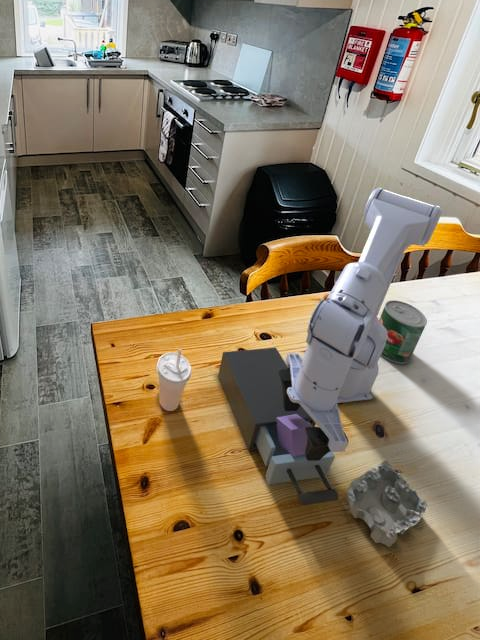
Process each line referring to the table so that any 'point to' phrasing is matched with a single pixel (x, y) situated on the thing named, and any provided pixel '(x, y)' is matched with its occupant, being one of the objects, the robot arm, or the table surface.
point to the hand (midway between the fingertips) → (300, 432)
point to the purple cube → (292, 434)
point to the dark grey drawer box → (255, 390)
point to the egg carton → (385, 503)
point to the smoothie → (172, 379)
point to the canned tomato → (401, 330)
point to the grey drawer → (294, 467)
